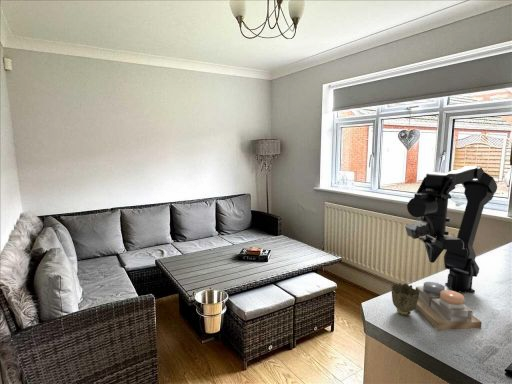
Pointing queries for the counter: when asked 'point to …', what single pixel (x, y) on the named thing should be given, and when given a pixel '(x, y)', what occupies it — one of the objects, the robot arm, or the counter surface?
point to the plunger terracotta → (451, 299)
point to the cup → (404, 298)
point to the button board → (445, 313)
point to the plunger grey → (433, 288)
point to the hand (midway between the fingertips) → (431, 262)
